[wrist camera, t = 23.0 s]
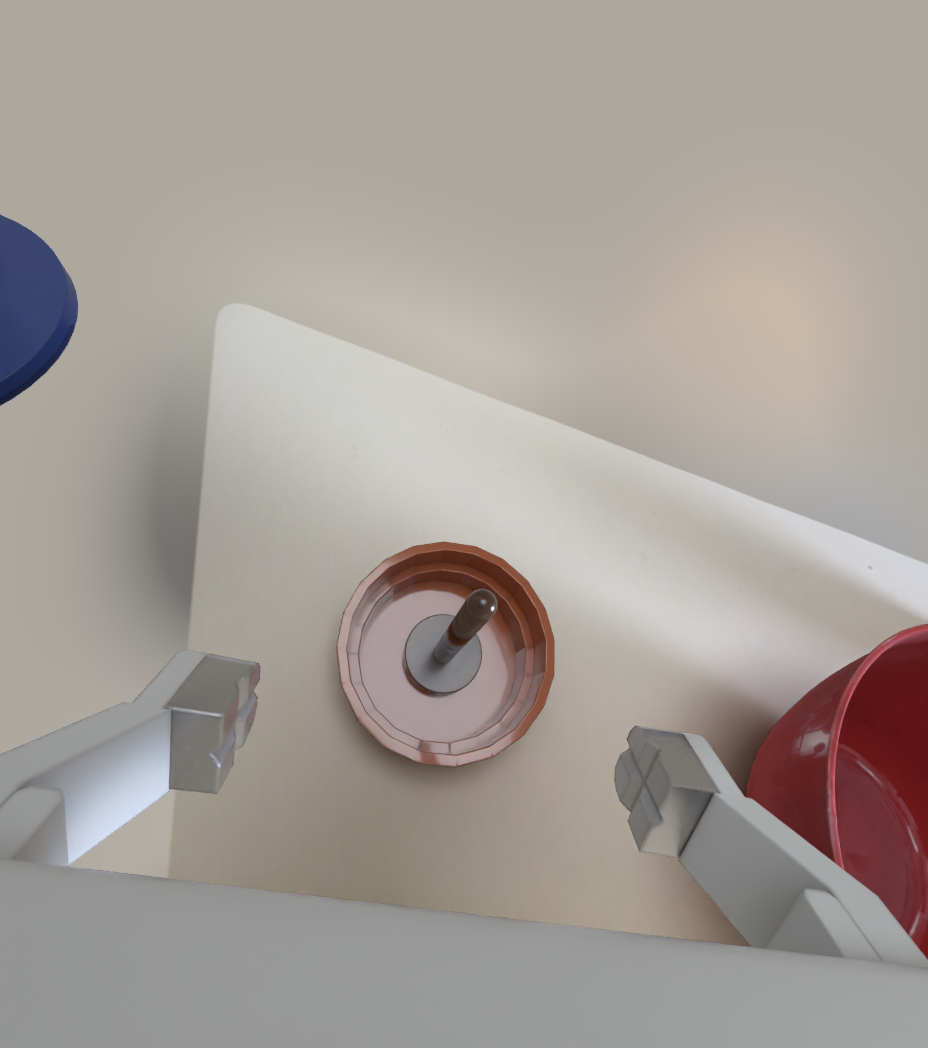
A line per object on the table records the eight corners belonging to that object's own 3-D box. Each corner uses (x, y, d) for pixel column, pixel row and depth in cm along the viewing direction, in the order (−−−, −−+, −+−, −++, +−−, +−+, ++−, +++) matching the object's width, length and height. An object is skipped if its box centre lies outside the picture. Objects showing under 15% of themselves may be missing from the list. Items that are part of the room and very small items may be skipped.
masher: (387, 658, 38) (398, 602, 23) (438, 604, 40) (478, 522, 25) (443, 712, 37) (492, 691, 22) (491, 654, 39) (566, 598, 24)
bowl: (300, 663, 37) (288, 649, 32) (433, 534, 44) (442, 505, 38) (446, 811, 35) (459, 823, 29) (564, 652, 41) (593, 638, 36)
